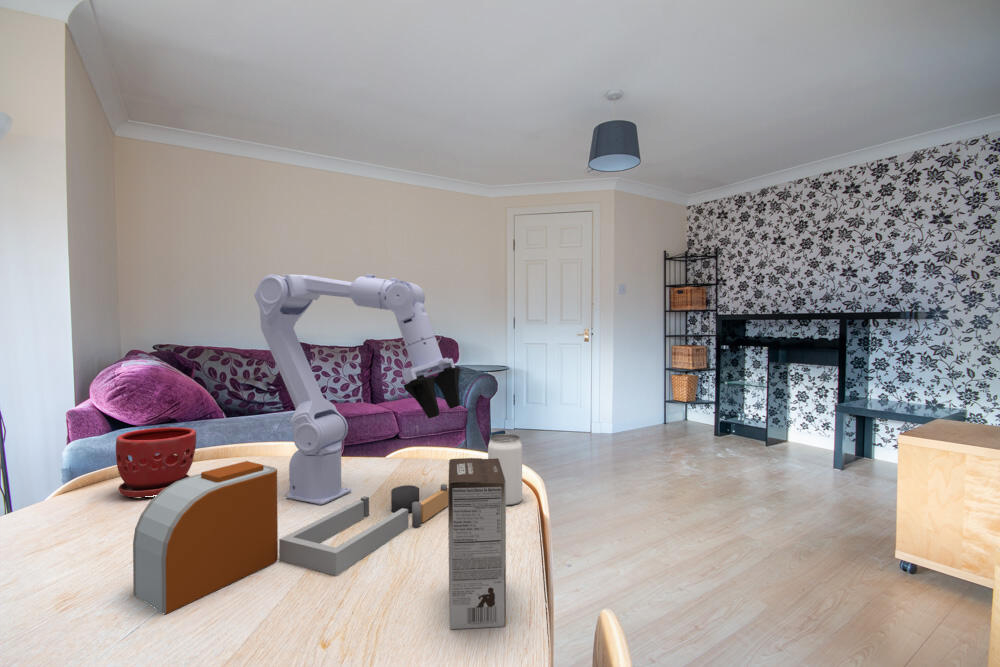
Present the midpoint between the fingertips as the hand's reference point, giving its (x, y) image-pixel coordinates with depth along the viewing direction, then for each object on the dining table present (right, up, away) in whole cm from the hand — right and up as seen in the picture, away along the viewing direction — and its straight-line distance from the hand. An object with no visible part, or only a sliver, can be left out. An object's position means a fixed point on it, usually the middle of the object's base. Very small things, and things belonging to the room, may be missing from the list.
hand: (445, 411), depth 85 cm
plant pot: (-59, -18, +9) cm, 63 cm away
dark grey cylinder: (-7, -17, -1) cm, 19 cm away
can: (+11, -17, +3) cm, 21 cm away
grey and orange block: (-28, -18, -24) cm, 41 cm away
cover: (-2, -17, -5) cm, 18 cm away
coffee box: (+7, -18, -31) cm, 36 cm away
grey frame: (-13, -17, -14) cm, 26 cm away
